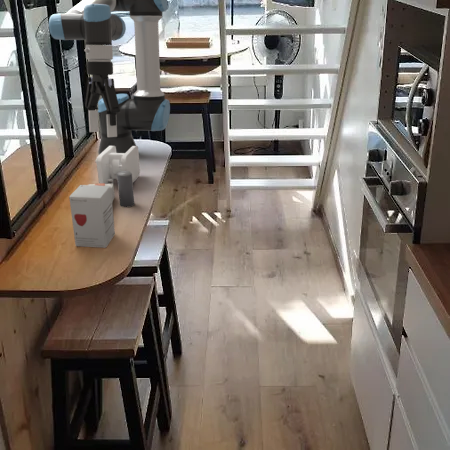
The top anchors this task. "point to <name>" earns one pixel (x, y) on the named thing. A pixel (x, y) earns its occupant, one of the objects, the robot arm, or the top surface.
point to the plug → (125, 188)
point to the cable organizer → (117, 164)
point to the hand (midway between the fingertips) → (102, 134)
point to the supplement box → (92, 215)
